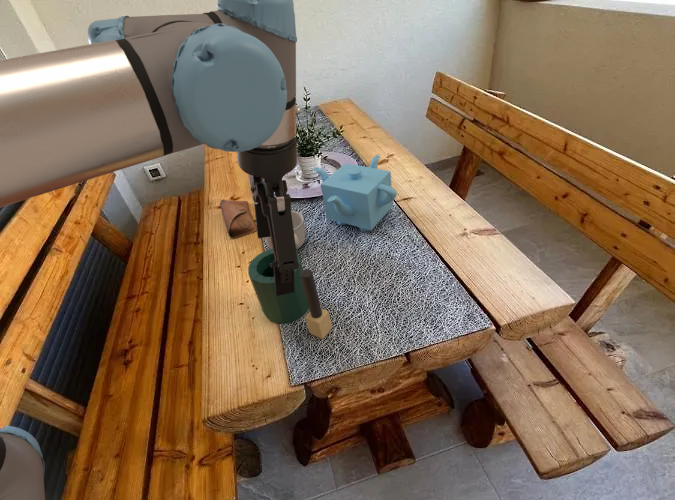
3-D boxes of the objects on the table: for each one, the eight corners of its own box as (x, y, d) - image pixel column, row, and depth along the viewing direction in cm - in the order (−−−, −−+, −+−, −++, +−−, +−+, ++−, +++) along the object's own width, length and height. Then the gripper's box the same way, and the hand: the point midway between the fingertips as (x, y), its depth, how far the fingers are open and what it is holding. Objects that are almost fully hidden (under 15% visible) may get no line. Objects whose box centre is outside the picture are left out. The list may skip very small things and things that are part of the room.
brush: (322, 339, 77) (307, 282, 67) (309, 333, 78) (292, 276, 68) (332, 327, 79) (319, 270, 69) (319, 321, 80) (304, 264, 70)
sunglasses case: (259, 228, 109) (242, 215, 104) (242, 245, 110) (224, 233, 105) (247, 199, 122) (231, 187, 118) (232, 215, 123) (215, 203, 119)
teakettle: (403, 228, 101) (401, 178, 92) (333, 245, 99) (324, 196, 90) (381, 193, 115) (378, 147, 106) (320, 207, 114) (311, 162, 105)
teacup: (265, 239, 105) (257, 215, 100) (303, 228, 107) (298, 204, 102) (274, 271, 95) (266, 246, 90) (316, 258, 96) (311, 232, 91)
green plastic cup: (276, 331, 80) (261, 291, 72) (255, 303, 87) (240, 263, 80) (319, 306, 84) (309, 265, 76) (296, 280, 91) (284, 240, 83)
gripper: (327, 184, 40) (321, 315, 54) (273, 97, 58) (279, 213, 72) (254, 194, 38) (267, 328, 52) (222, 101, 55) (238, 220, 69)
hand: (274, 262), depth 62 cm, fingers open, 13 cm apart
